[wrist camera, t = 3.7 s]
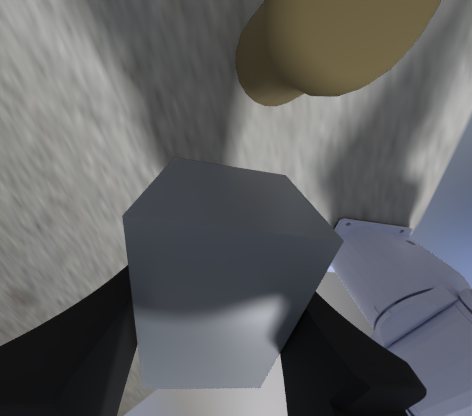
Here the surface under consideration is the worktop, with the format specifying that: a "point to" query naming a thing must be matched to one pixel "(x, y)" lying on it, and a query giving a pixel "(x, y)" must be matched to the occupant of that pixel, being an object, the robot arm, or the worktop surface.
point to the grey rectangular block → (220, 272)
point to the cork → (325, 45)
